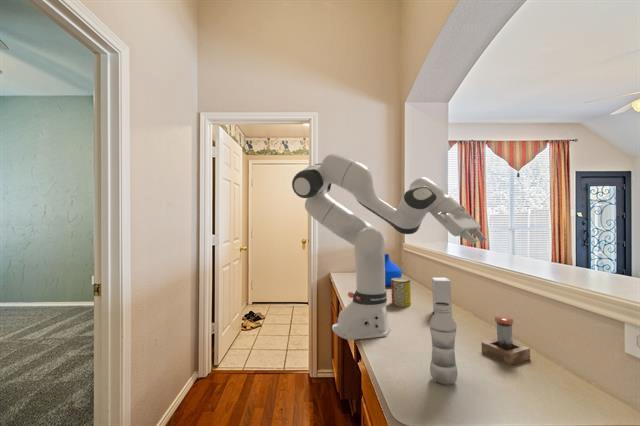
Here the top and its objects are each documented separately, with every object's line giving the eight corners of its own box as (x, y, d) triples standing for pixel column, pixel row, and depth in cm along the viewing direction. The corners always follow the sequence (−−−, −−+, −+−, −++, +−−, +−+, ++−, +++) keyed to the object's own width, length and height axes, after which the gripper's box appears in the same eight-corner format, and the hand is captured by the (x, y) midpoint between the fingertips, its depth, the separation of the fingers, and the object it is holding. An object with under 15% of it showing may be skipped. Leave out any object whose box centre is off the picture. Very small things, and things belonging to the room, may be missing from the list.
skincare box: (452, 318, 121) (451, 281, 122) (435, 317, 123) (434, 280, 123) (447, 311, 129) (446, 277, 130) (432, 311, 131) (431, 276, 131)
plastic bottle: (425, 375, 78) (424, 300, 78) (449, 373, 79) (447, 299, 79) (437, 389, 72) (435, 308, 72) (463, 387, 72) (461, 307, 73)
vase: (405, 283, 187) (405, 253, 188) (396, 289, 172) (396, 256, 172) (378, 280, 197) (378, 252, 198) (368, 285, 182) (367, 255, 182)
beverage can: (390, 301, 147) (389, 277, 147) (407, 301, 147) (407, 277, 147) (394, 306, 138) (393, 281, 138) (413, 306, 138) (412, 281, 138)
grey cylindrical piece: (507, 360, 85) (506, 322, 86) (492, 353, 90) (491, 317, 90) (518, 356, 87) (517, 320, 88) (503, 350, 92) (501, 315, 92)
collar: (510, 364, 83) (509, 354, 83) (481, 351, 91) (481, 342, 91) (530, 358, 86) (529, 348, 86) (501, 346, 94) (500, 337, 95)
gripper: (442, 205, 91) (477, 237, 84) (464, 206, 106) (496, 233, 99) (429, 219, 94) (461, 251, 87) (452, 218, 109) (482, 246, 102)
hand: (480, 242), depth 93 cm, fingers open, 8 cm apart
